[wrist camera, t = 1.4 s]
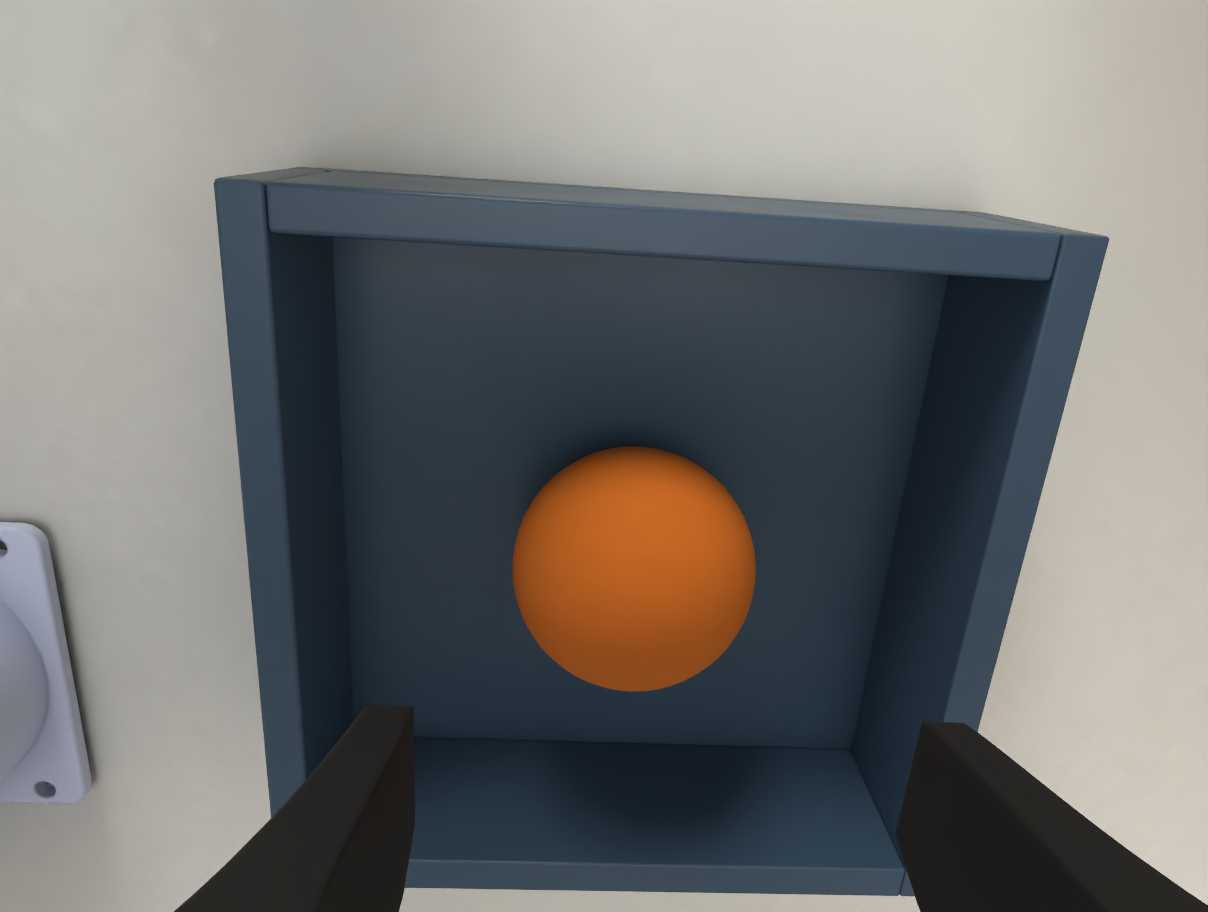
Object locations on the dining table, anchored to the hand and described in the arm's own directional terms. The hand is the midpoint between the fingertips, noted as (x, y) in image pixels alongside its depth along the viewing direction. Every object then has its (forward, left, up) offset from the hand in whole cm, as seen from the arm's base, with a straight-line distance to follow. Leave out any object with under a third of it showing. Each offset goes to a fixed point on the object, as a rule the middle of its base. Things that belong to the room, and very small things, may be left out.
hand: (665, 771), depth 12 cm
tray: (0, 0, -9) cm, 9 cm away
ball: (0, 0, -6) cm, 6 cm away
